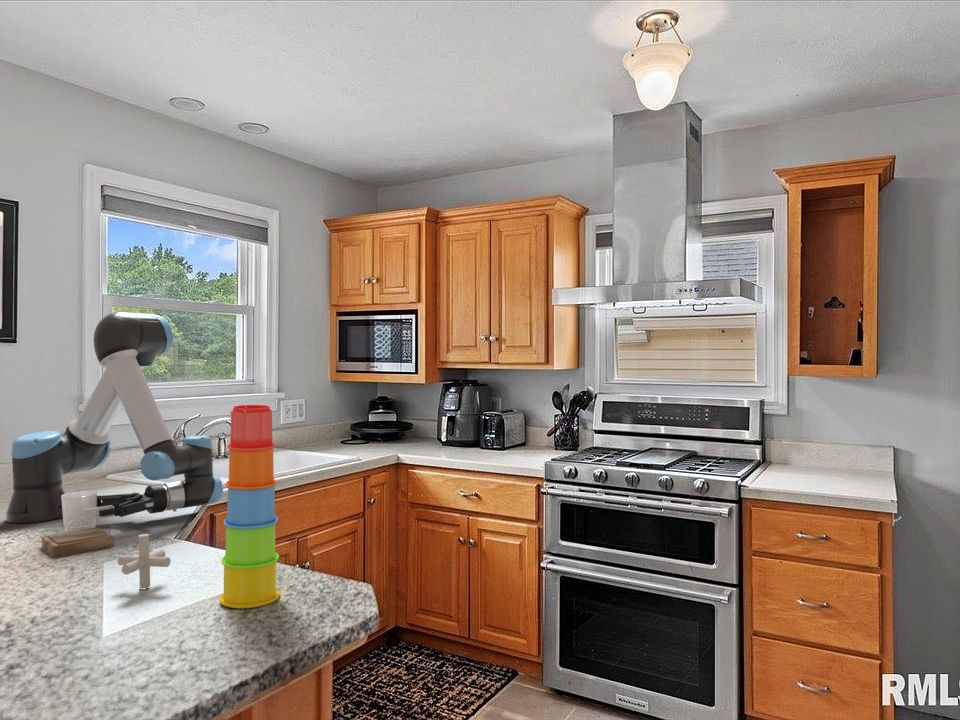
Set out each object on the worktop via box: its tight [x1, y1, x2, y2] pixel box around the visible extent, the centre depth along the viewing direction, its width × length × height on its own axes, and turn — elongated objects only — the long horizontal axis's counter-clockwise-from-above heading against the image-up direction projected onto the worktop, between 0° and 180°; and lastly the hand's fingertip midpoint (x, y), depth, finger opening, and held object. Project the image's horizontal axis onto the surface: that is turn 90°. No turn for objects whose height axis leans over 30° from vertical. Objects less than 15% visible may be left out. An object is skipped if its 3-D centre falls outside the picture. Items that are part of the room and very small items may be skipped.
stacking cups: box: [218, 404, 281, 609], centre depth 125 cm, size 10×10×35 cm
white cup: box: [61, 490, 98, 533], centre depth 176 cm, size 8×8×10 cm
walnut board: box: [41, 526, 115, 559], centre depth 163 cm, size 12×12×3 cm
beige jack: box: [117, 533, 172, 590], centre depth 133 cm, size 10×10×10 cm
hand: (75, 511), depth 175 cm, fingers open, 13 cm apart
